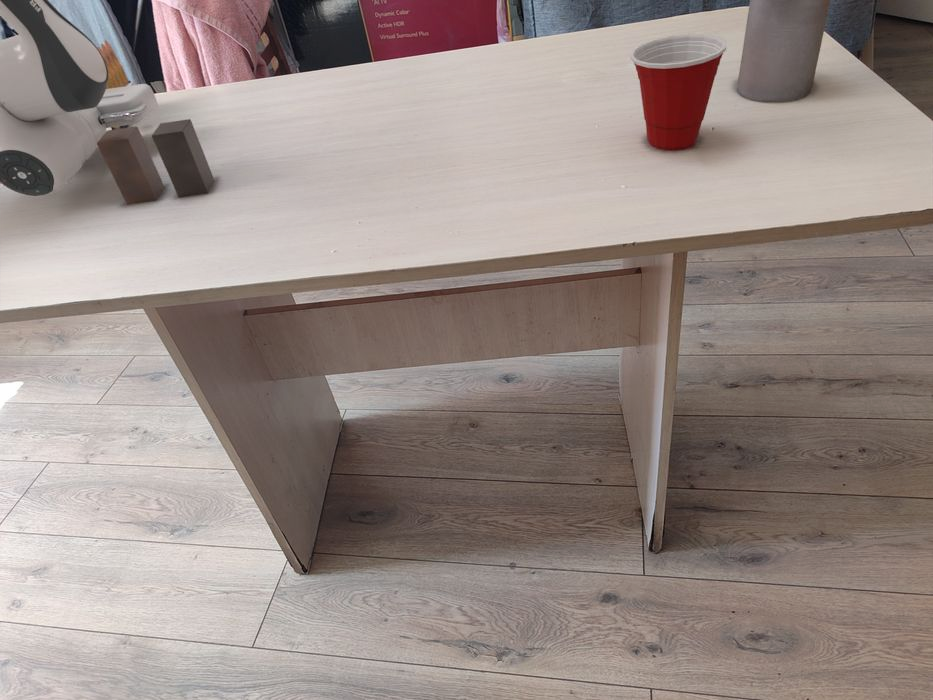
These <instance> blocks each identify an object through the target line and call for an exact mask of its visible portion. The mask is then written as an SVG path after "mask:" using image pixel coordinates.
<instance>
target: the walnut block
mask: <svg viewBox="0 0 933 700" xmlns="http://www.w3.org/2000/svg"><path fill="white" fill-rule="evenodd" d="M97 145H98V149H99V152H100V153H101V155H102V158H103V160H104V161H105V164H106V165H107V167H108V170H109V172H110V173H111V176H112V177H113V179H114V181H115V183H116V186H117V187H118V190H119V191H120V194H121V196H122V198H123V200H124V202H125V204H126V205H127V206H129V205H135V204H141V203H142V204H143V203H149V202H156V201H158V199H159V197H160V196H161V194H162V192H163V190H164V188H165V185H164V183H163V179H162V178H161V176H160V174H159V171H158V170H157V167H156V165H155V162H154V160H153V158H152V156H151V154H150V152H149V149H148V146H147V144H146V142H145V140H144V137H143V136H142V133H141V132H140V129H139V126H130V127H127V128H122V129H115V130H112V129H110V130H109V129H108V130H106V133H105V134H104V135H103V136H102V138H101V139H100V140H99V141H98V142H97Z"/></svg>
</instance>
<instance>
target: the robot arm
mask: <svg viewBox="0 0 933 700" xmlns="http://www.w3.org/2000/svg"><path fill="white" fill-rule="evenodd" d="M0 17H1V18H2V19H3V20H4V21H5V22H6V23H7V24H8V25H9V26H10V27H11V28H12V29H13V30H14V32H15V33H17V35H13V36H10V37H6V38H4V39H1V40H0V184H2V185H3V186H4V187H5V188H7V189H9V190H11V191H13V192H15V193H18V194H21V195H26V196H31V197H40V196H47V195H51V194H53V193H55V192H57V191H59V190H61V188H63V187H64V186H65V185H66V184H68V182H70V181H71V180H72V179H73V178H74V177H75V175H77V174H78V173H79V171H80V170H81V169H82V168H83V166H84V163H85V162H86V161H88V160H89V159H90V158H91V157H92V156H93V155H94V153H95V152H96V151H97V150H98V149H99V147H98V145H97V142H98V141H99V140H100V139H101V138H102V136H103V135H104V134H105V133H106V132H107V129H109V128H111V127H117V126H124V125H128V126H130V125H135V124H138V123H141V122H142V121H144V120H146V119H147V118H148V117H149V116H150V115H151V114H153V113H154V112H155V111H156V110H157V108H158V107H159V104H158V100H157V98H156V96H155V92H154V90H153V88H152V87H151V85H149V84H147V83H139V84H136V83H135V82H134V81H131V83H124V85H122V86H121V87H117V88H110V89H106V87H107V83H108V69H107V66H106V63H105V61H104V58H103V57H102V55H101V53H100V51H99V50H98V49H97V47H98V46H97V45H95V43H94V42H93V41H92V39H90V38H89V37H88V36H87V35H86V34H85V33H84V32H83V31H81V30H80V29H79V28H78V27H77V26H75V24H73V23H72V22H71V21H70V20H68V19H67V18H66V17H65V15H63V14H62V13H61V12H60V11H59V10H58V9H57V8H56V7H55V6H54V5H53V4H52V3H51V1H49V0H0Z"/></svg>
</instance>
